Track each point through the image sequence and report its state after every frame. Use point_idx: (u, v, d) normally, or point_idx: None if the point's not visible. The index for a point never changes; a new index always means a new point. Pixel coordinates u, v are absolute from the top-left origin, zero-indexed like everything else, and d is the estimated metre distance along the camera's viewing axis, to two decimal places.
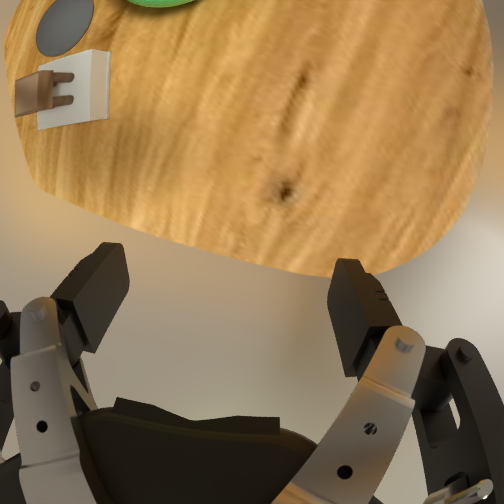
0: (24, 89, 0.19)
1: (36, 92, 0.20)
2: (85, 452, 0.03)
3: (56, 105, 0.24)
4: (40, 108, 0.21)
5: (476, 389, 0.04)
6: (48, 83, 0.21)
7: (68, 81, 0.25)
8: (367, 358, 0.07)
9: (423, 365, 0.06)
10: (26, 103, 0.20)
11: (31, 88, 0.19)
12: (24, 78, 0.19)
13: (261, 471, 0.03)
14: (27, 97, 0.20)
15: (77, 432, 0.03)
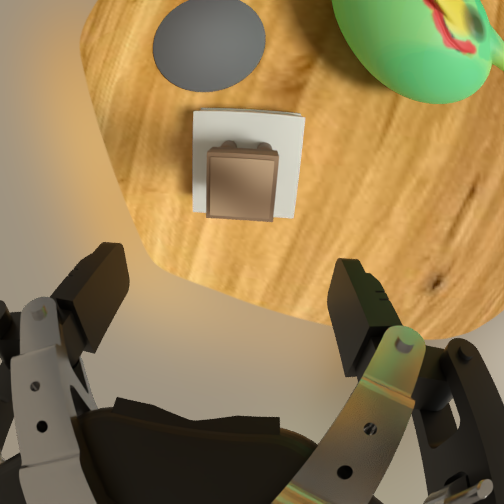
0: (236, 178, 0.19)
1: (265, 191, 0.19)
2: (85, 452, 0.03)
3: None
4: (272, 219, 0.20)
5: (476, 389, 0.04)
6: None
7: None
8: (367, 358, 0.07)
9: (423, 365, 0.06)
10: (242, 204, 0.19)
11: (253, 180, 0.19)
12: (235, 157, 0.18)
13: (261, 471, 0.03)
14: (241, 192, 0.19)
15: (77, 432, 0.03)
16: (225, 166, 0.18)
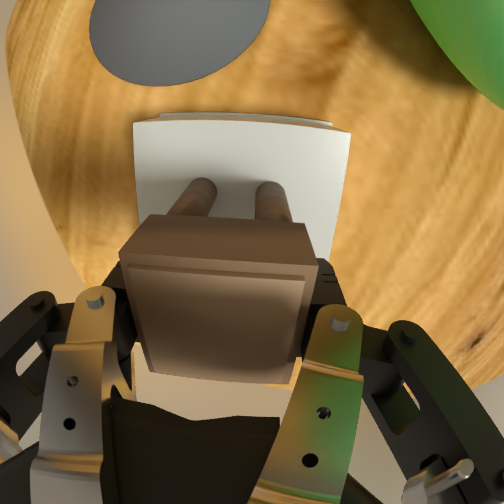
0: (200, 317, 0.07)
1: (276, 340, 0.08)
2: (109, 459, 0.03)
3: None
4: None
5: (430, 371, 0.05)
6: None
7: None
8: (307, 336, 0.07)
9: (363, 345, 0.06)
10: (221, 364, 0.08)
11: (247, 320, 0.07)
12: (193, 269, 0.06)
13: (261, 471, 0.03)
14: (217, 342, 0.08)
15: (106, 438, 0.03)
16: (169, 291, 0.07)
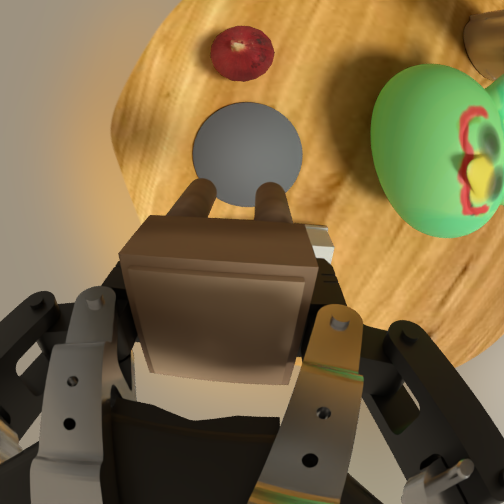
0: (200, 318, 0.07)
1: (276, 341, 0.08)
2: (109, 459, 0.03)
3: None
4: None
5: (430, 371, 0.05)
6: None
7: None
8: (307, 336, 0.07)
9: (362, 345, 0.06)
10: (221, 364, 0.08)
11: (246, 321, 0.07)
12: (193, 270, 0.06)
13: (261, 471, 0.03)
14: (217, 342, 0.08)
15: (106, 437, 0.03)
16: (169, 293, 0.07)
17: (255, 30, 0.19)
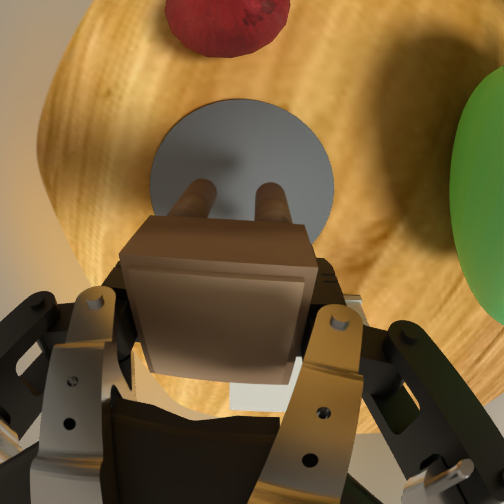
0: (200, 319, 0.07)
1: (276, 341, 0.08)
2: (109, 459, 0.03)
3: None
4: None
5: (430, 371, 0.05)
6: None
7: None
8: (307, 336, 0.07)
9: (363, 345, 0.06)
10: (221, 364, 0.08)
11: (246, 321, 0.07)
12: (193, 271, 0.06)
13: (261, 471, 0.03)
14: (217, 342, 0.08)
15: (106, 438, 0.03)
16: (169, 293, 0.07)
17: None
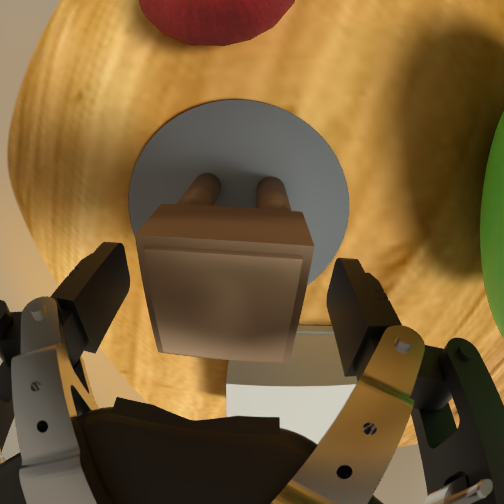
0: (208, 295, 0.08)
1: (277, 317, 0.09)
2: (85, 452, 0.03)
3: None
4: None
5: (475, 389, 0.04)
6: None
7: None
8: (366, 358, 0.07)
9: (422, 365, 0.06)
10: (226, 341, 0.09)
11: (250, 297, 0.08)
12: (203, 249, 0.07)
13: (261, 471, 0.03)
14: (223, 319, 0.09)
15: (77, 432, 0.03)
16: (180, 270, 0.08)
17: None
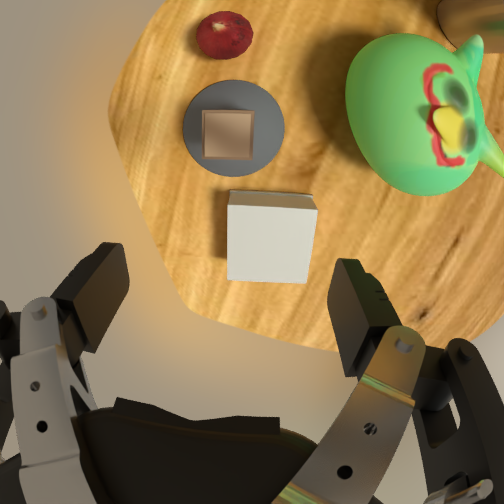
0: (223, 127, 0.24)
1: (245, 136, 0.25)
2: (85, 452, 0.03)
3: None
4: (251, 158, 0.26)
5: (476, 389, 0.04)
6: None
7: None
8: (367, 358, 0.07)
9: (423, 365, 0.06)
10: (228, 147, 0.25)
11: (236, 129, 0.24)
12: (222, 112, 0.23)
13: (261, 471, 0.03)
14: (227, 138, 0.25)
15: (77, 432, 0.03)
16: (215, 119, 0.24)
17: (234, 14, 0.20)
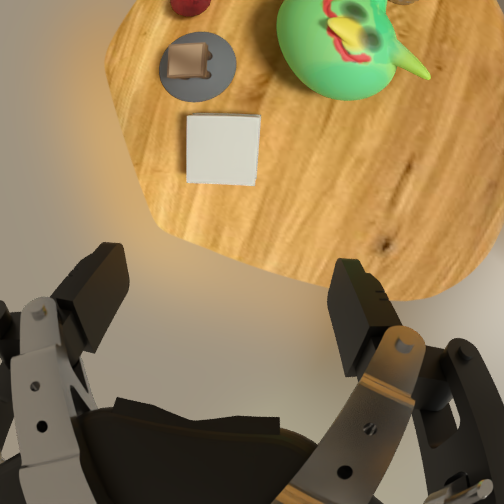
0: (182, 54, 0.28)
1: (198, 59, 0.29)
2: (85, 452, 0.03)
3: (205, 76, 0.33)
4: (202, 74, 0.30)
5: (476, 389, 0.04)
6: (206, 55, 0.30)
7: (208, 59, 0.34)
8: (367, 358, 0.07)
9: (423, 365, 0.06)
10: (185, 67, 0.29)
11: (192, 55, 0.29)
12: (182, 45, 0.28)
13: (261, 471, 0.03)
14: (185, 61, 0.29)
15: (77, 432, 0.03)
16: (177, 49, 0.28)
17: None
